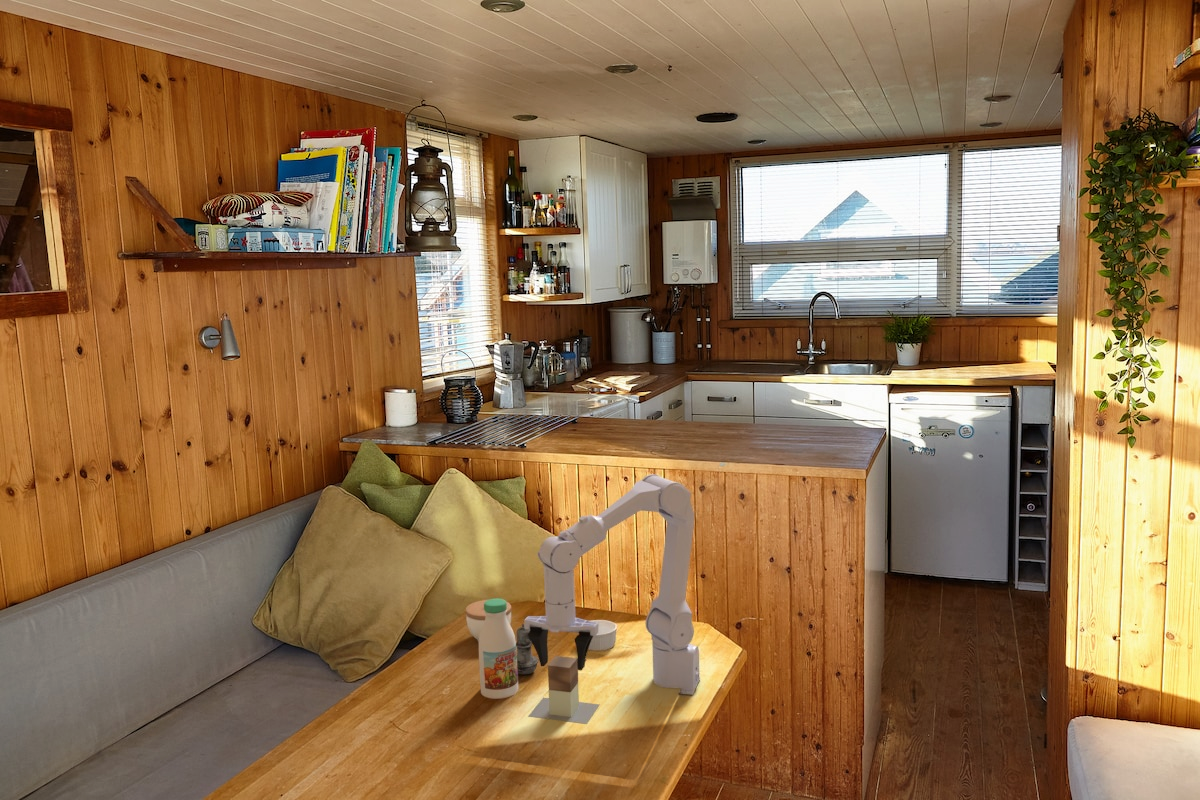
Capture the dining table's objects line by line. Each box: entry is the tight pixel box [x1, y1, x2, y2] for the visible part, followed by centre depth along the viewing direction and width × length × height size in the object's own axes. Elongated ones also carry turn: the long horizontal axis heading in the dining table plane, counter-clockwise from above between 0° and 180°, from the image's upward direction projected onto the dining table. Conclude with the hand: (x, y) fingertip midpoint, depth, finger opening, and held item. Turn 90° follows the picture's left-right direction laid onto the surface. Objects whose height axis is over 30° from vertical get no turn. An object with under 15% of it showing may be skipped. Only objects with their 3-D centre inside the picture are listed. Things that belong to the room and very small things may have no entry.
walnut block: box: [547, 655, 579, 692], centre depth 183 cm, size 4×4×5 cm
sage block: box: [548, 682, 580, 717], centre depth 183 cm, size 4×4×5 cm
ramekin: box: [588, 619, 618, 652], centre depth 217 cm, size 9×9×4 cm
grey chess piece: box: [516, 623, 539, 675], centre depth 200 cm, size 6×6×12 cm
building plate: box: [528, 697, 601, 725], centre depth 184 cm, size 12×8×1 cm, turn 72°
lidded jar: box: [465, 598, 512, 643], centre depth 221 cm, size 11×11×9 cm
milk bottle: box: [478, 598, 519, 700], centre depth 192 cm, size 8×8×20 cm
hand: (562, 666), depth 182 cm, fingers open, 7 cm apart
